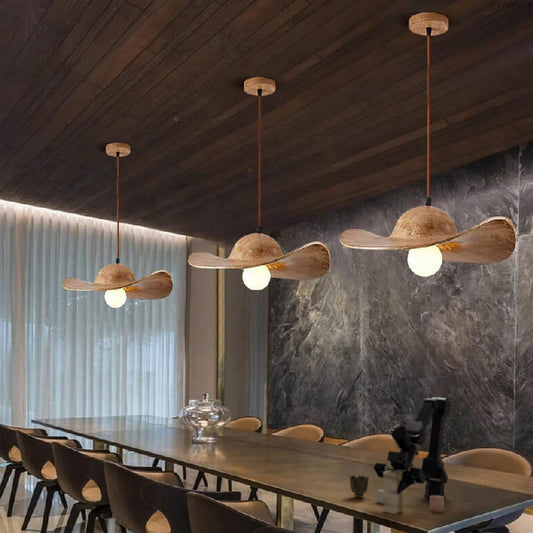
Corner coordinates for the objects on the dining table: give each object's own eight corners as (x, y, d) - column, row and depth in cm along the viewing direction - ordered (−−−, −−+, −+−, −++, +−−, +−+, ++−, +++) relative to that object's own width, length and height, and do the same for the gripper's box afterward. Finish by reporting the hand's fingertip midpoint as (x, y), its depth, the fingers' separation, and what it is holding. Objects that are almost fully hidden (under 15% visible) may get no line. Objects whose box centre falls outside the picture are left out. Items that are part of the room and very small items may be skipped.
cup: (366, 495, 283) (366, 475, 284) (370, 499, 275) (370, 478, 276) (348, 495, 283) (348, 475, 283) (351, 499, 275) (351, 478, 276)
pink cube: (439, 508, 263) (438, 494, 263) (446, 511, 258) (446, 497, 259) (427, 509, 261) (427, 495, 262) (434, 512, 256) (434, 498, 257)
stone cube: (385, 500, 275) (386, 488, 275) (393, 503, 271) (393, 491, 271) (376, 501, 272) (376, 489, 273) (384, 504, 269) (384, 492, 269)
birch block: (390, 509, 259) (390, 469, 261) (402, 511, 256) (402, 471, 258) (383, 511, 256) (383, 471, 257) (395, 513, 252) (395, 473, 254)
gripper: (376, 440, 267) (360, 474, 258) (421, 445, 256) (406, 481, 246) (386, 459, 273) (371, 493, 263) (431, 465, 261) (417, 501, 251)
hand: (391, 491), depth 256 cm, fingers closed on birch block, 5 cm apart
